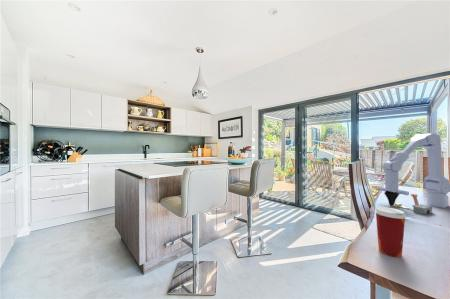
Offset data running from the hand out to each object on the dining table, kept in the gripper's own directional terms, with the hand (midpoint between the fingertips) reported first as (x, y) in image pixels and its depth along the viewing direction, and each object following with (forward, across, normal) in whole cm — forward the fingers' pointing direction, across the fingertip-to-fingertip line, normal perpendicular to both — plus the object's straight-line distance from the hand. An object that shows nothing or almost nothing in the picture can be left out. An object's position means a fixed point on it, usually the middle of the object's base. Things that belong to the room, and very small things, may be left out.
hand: (391, 204), depth 105 cm
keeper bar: (-3, +8, +7) cm, 11 cm away
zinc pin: (+2, +6, 0) cm, 6 cm away
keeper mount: (+2, +8, +10) cm, 12 cm away
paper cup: (+2, +26, -58) cm, 64 cm away
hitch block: (+2, +13, 0) cm, 13 cm away
